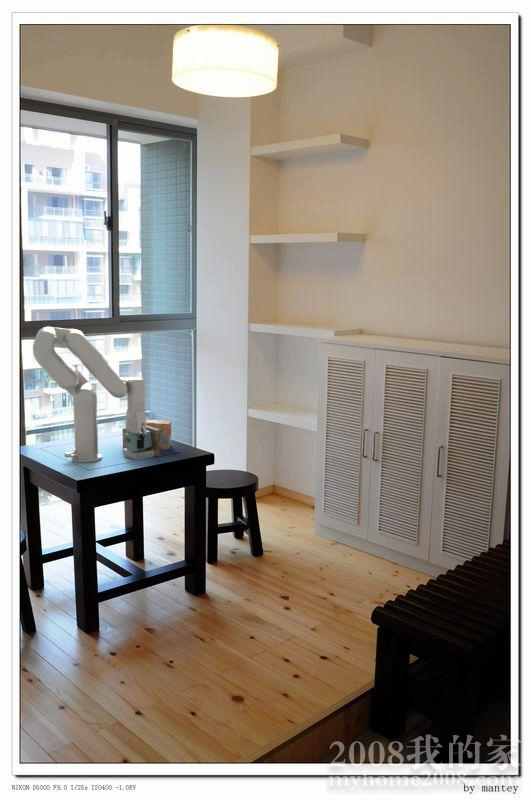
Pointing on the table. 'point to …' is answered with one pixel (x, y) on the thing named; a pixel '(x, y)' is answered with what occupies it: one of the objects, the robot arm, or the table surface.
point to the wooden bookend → (150, 450)
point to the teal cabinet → (132, 441)
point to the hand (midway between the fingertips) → (137, 446)
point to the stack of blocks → (164, 432)
